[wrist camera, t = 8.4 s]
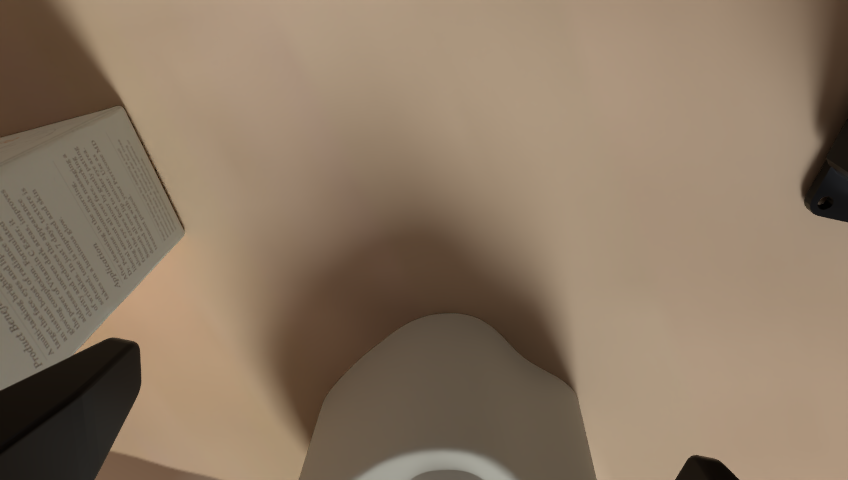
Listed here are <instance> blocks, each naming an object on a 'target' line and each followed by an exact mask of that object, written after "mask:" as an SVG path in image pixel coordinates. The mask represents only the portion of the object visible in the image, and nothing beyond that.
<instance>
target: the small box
mask: <svg viewBox="0 0 848 480" xmlns="http://www.w3.org/2000/svg"><path fill="white" fill-rule="evenodd" d="M184 234H185V232H184V229H183V228H182V226H181V224H180V222H179V220H178V218H177V216H176V214H175V211H174V209H173V207H172V205H171V203H170V201H169V199H168V197H167V195H166V193H165V191H164V189H163V187H162V185H161V183H160V181H159V179H158V177H157V175H156V173H155V171H154V168H153V166H152V164H151V162H150V160H149V158H148V156H147V154H146V152H145V150H144V148H143V146H142V144H141V142H140V140H139V138H138V136H137V134H136V132H135V130H134V128H133V126H132V124H131V122H130V120H129V118H128V116H127V113H126V111H125V110H124V108H123V107H121V106H115V107H112V108H109V109H106V110H102V111H98V112H94V113H91V114H87V115H83V116H80V117H76V118H72V119H68V120H65V121H61V122H57V123H53V124H50V125H46V126H42V127H39V128H35V129H31V130H28V131H24V132H20V133H16V134H13V135H9V136H5V137H1V138H0V390H2V389H4V388H6V387H9V386H11V385H13V384H15V383H17V382H19V381H21V380H23V379H25V378H27V377H29V376H31V375H33V374H35V373H37V372H40V371H42V370H44V369H46V368H48V367H50V366H52V365H54V364H56V363H58V362H60V361H62V360H64V359H66V358H68V357H71V356H72V355H73V354H74V353H75V352H76V351H77V350H78V349H79V348H80V347H81V346H82V345H83V344H84V343H85V342H86V341H87V339H88V338H89V337H90V336H91V335H92V334H93V333H94V332H95V331H96V330H97V329H98V328H99V327H100V325H101V324H102V323H103V322H104V321H105V320H106V319H107V317H108V316H109V315H110V314H111V313H112V312H113V311H114V310H115V309H116V308H117V307H118V306H119V305H120V304H121V303H122V302H123V301H124V300H125V299H126V297H127V296H128V295H129V294H130V293H131V292H132V291H133V290H134V289H135V288H136V287H137V286H138V285H139V284H140V283H141V282H142V280H143V279H144V278H145V277H146V276H147V275H148V274H149V273H150V272H151V271H152V270H153V269H154V268H155V266H156V265H157V264H158V263H159V262H160V261H161V260H162V259H163V258H164V257H165V256H166V254H167V253H168V252H169V251H170V250H171V249H172V248H173V247H174V246H175V245H176V244H177V243H178V242H179V241H180V240H181V239H182V238H183V236H184Z"/></svg>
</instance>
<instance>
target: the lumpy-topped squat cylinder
mask: <svg viewBox="0 0 848 480" xmlns="http://www.w3.org/2000/svg"><path fill="white" fill-rule="evenodd" d="M299 480H597V479H596V475H595V471H594V466H593V462H592V458H591V453H590V449H589V445H588V440H587V436H586V432H585V428H584V423H583V419H582V415H581V410H580V406H579V402H578V398H577V396H576V394H575V392H574V391H573V390H572V389H571V388H570V386H568V385H567V384H566V383H565V382H564V381H562V380H561V379H559V378H558V377H556V376H554V375H552V374H551V373H549V372H547V371H545V370H543V369H541V368H539V367H537V366H536V365H534V364H532V363H531V362H529V361H528V360H526V359H525V358H524V357H522V356H521V355H520V354H519V353H518V352H517V351H516V350H515V349H514V348H513V347H512V346H511V345H510V344H509V343H508V342H507V341H506V340H505V339H504V338H503V337H502V336H501V335H500V334H499V333H498V332H497V331H496V330H495V329H494V328H492V327H491V326H490V325H488V324H487V323H485V322H484V321H482V320H480V319H478V318H475V317H473V316H469V315H465V314H458V313H442V314H434V315H429V316H425V317H422V318H419V319H416V320H414V321H412V322H409V323H408V324H406V325H404V326H402V327H401V328H399V329H398V330H396V331H395V332H393V333H392V334H391V335H389V336H388V337H387V338H385V339H384V340H383V341H382V342H380V343H379V344H378V345H376V346H375V347H374V348H372V349H371V350H370V351H369V352H367V353H366V354H365V355H364V356H363V357H362V358H360V359H359V360H358V361H357V362H356V363H355V364H354V365H353V366H352V367H351V368H350V369H349V370H348V371H347V372H346V373H345V374H344V375H343V376H342V377H341V378H340V379H339V380H338V382H337V383H336V384H335V385H334V386H333V387H332V389H331V390H330V391H329V393H328V394H327V396H326V397H325V399H324V401H323V404H322V407H321V410H320V413H319V416H318V420H317V423H316V426H315V429H314V432H313V436H312V439H311V442H310V445H309V448H308V451H307V455H306V458H305V461H304V464H303V467H302V471H301V474H300V477H299Z"/></svg>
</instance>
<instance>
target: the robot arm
mask: <svg viewBox="0 0 848 480" xmlns="http://www.w3.org/2000/svg"><path fill="white" fill-rule="evenodd" d="M826 158H827V159H826V161H825V163H824V165H823V166H822V168H821V170H820V172H819V173H818V175H817V177H816V179H815V180H814V182H813V184H812V186H811V187H810V189H809V191H808V193H807V194H806V196H805V199H804V204H805V206H806V208H807V209H808V210H809V211H811V212H812V213H813V214H815V215H817V216H821V217H826V218H830V219H835V220H840V221H844V222H848V119H847V121H846V123H845V124H844V126H843V128H842V130H841V131H840V133H839V135H838V137H837V139H836V140H835V142H834V144H833V146H832V147H831V149H830V151H829V153H828V154H827V157H826ZM823 197H827V200H826V201H825V202H824V203H823V204H820V205H818V201H819V200H820V199H821V198H823ZM140 387H141V362H140V348H139V345H138V344H137V343H136V342H134V341H129V340H125V339H120V338H108V339H106V340H104V341H102V342H99V343H97V344H95V345H93V346H91V347H89V348H87V349H85V350H83V351H81V352H79V353H77V354H75V355H73V356H71V357H68V358H66V359H64V360H62V361H60V362H58V363H56V364H54V365H52V366H50V367H48V368H46V369H44V370H42V371H40V372H37V373H35V374H33V375H31V376H29V377H27V378H25V379H23V380H21V381H19V382H17V383H15V384H13V385H11V386H9V387H6V388H4V389H2V390H0V480H94V479H95V478H96V476H97V474H98V472H99V470H100V469H101V467H102V465H103V463H104V461H105V459H106V457H107V455H108V453H109V451H110V449H111V447H112V445H113V443H114V441H115V439H116V437H117V435H118V433H119V431H120V429H121V427H122V425H123V423H124V421H125V419H126V417H127V416H128V414H129V412H130V410H131V408H132V406H133V404H134V402H135V400H136V398H137V396H138V393H139V390H140ZM675 480H739V479H738V478H737V477H736V476H735V475H734V474H733V473H732V472H731V471H730V470H729V469H728V468H727V467H726V466H725V465H724V464H723V463H722V462H720V461H719V460H717V459H714V458H709V457H704V456H699V455H693V456H691V457H690V458H688V460H687V461H686V463H685V464H684V466H683V468H682V469H681V471H680V473H679V474H678V476H677V478H676V479H675Z"/></svg>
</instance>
